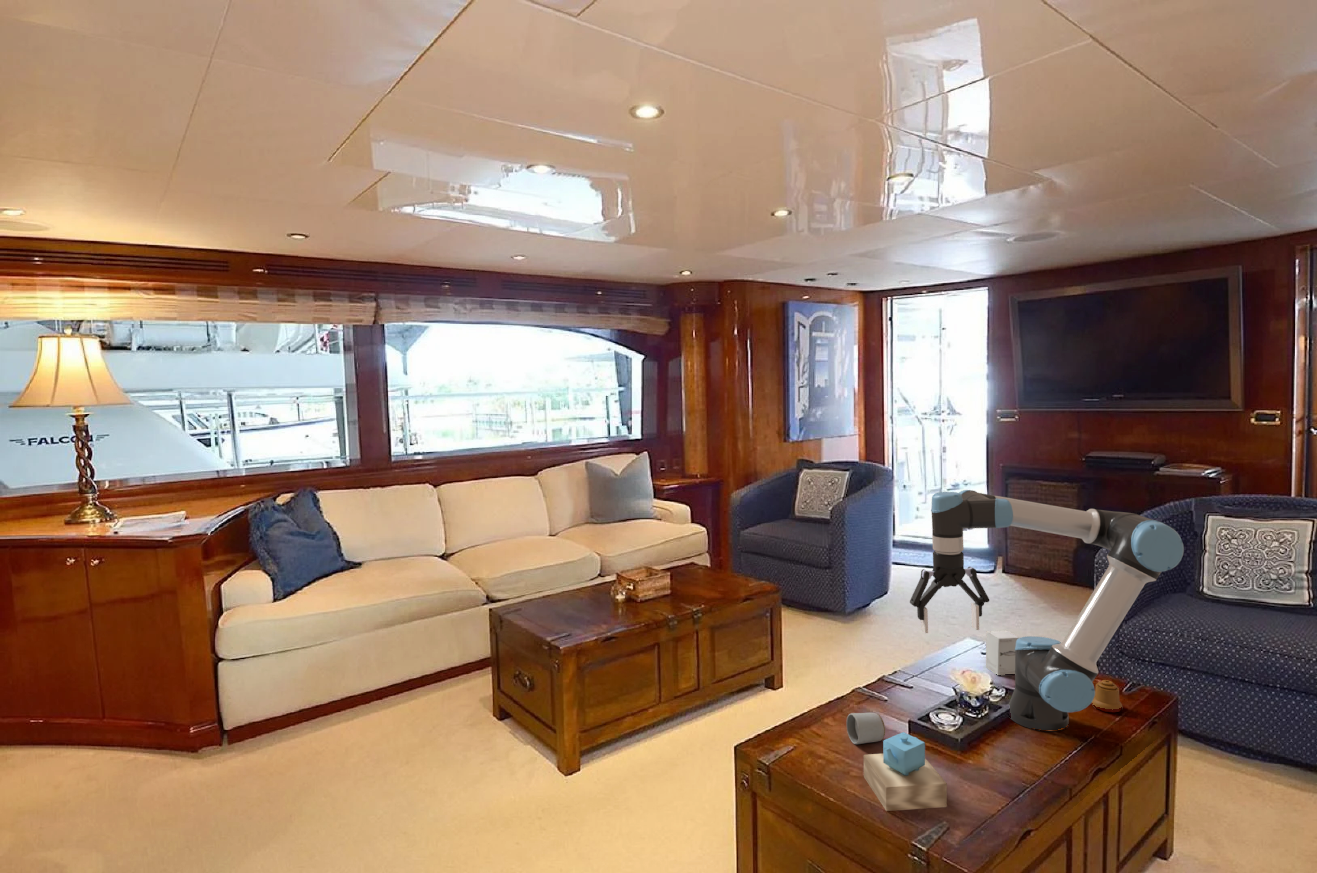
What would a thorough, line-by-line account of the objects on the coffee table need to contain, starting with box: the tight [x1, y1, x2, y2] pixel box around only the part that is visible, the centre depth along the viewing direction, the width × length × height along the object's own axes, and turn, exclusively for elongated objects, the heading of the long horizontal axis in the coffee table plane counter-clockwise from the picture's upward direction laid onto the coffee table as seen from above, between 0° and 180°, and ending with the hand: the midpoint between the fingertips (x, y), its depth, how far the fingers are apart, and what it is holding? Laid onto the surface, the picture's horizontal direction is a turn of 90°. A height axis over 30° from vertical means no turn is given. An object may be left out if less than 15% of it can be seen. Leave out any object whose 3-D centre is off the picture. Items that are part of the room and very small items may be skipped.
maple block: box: [863, 753, 948, 812], centre depth 165 cm, size 14×14×6 cm
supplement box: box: [985, 629, 1020, 676], centre depth 231 cm, size 7×7×13 cm
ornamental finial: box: [1091, 679, 1123, 710], centre depth 203 cm, size 8×8×8 cm
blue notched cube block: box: [882, 731, 926, 776], centre depth 164 cm, size 12×6×8 cm, turn 122°
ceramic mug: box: [845, 712, 886, 745], centre depth 190 cm, size 11×8×8 cm
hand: (950, 630), depth 187 cm, fingers open, 13 cm apart
